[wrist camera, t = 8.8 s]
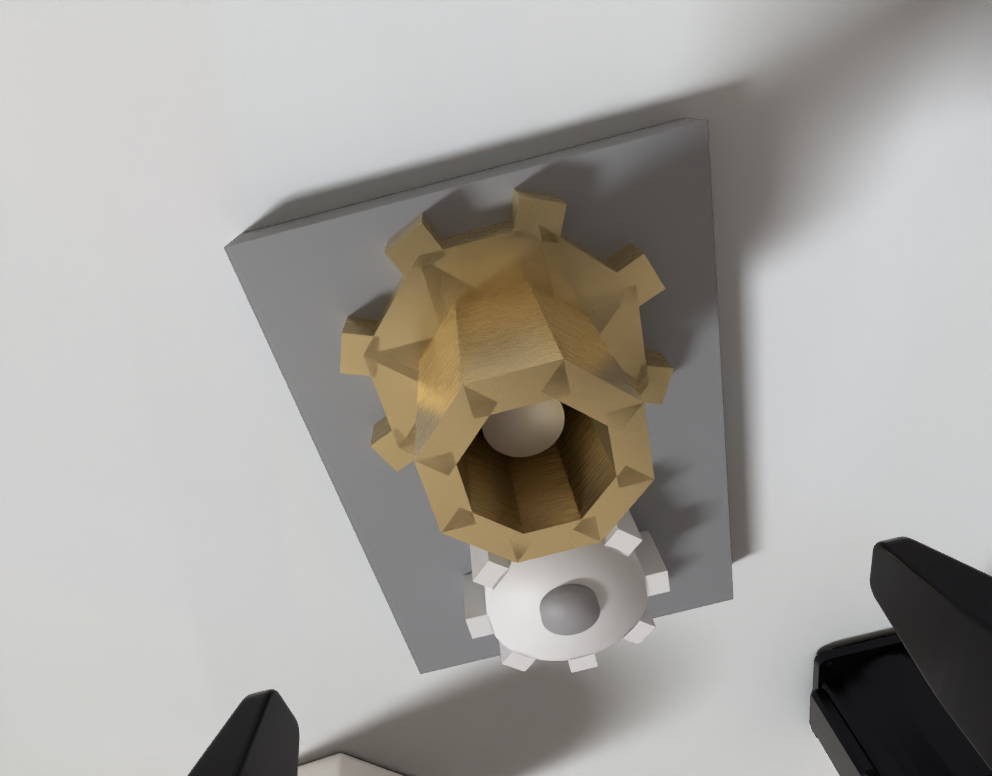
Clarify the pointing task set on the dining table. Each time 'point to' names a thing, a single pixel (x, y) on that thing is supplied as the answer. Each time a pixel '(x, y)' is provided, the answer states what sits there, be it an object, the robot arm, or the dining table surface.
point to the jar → (342, 767)
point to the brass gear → (514, 377)
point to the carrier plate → (363, 284)
